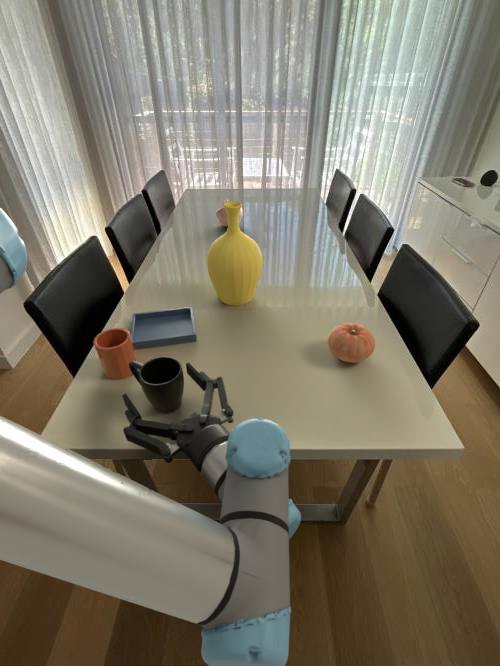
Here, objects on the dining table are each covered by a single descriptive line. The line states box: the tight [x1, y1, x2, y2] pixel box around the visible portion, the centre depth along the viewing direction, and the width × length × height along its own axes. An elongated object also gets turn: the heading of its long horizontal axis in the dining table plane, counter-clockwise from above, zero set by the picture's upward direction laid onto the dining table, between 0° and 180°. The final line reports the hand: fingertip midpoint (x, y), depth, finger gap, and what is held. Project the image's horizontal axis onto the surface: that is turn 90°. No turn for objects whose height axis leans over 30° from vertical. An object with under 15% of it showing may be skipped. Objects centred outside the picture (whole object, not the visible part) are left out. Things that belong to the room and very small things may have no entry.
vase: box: [206, 201, 263, 306], centre depth 96 cm, size 16×16×28 cm
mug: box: [129, 356, 185, 415], centre depth 69 cm, size 8×12×10 cm
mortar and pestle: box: [215, 199, 244, 228], centre depth 151 cm, size 12×12×11 cm
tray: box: [130, 306, 198, 351], centre depth 90 cm, size 16×13×2 cm
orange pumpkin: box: [327, 322, 376, 364], centre depth 80 cm, size 11×11×8 cm
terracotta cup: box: [93, 327, 139, 381], centre depth 77 cm, size 8×8×9 cm
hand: (158, 382), depth 67 cm, fingers open, 13 cm apart
